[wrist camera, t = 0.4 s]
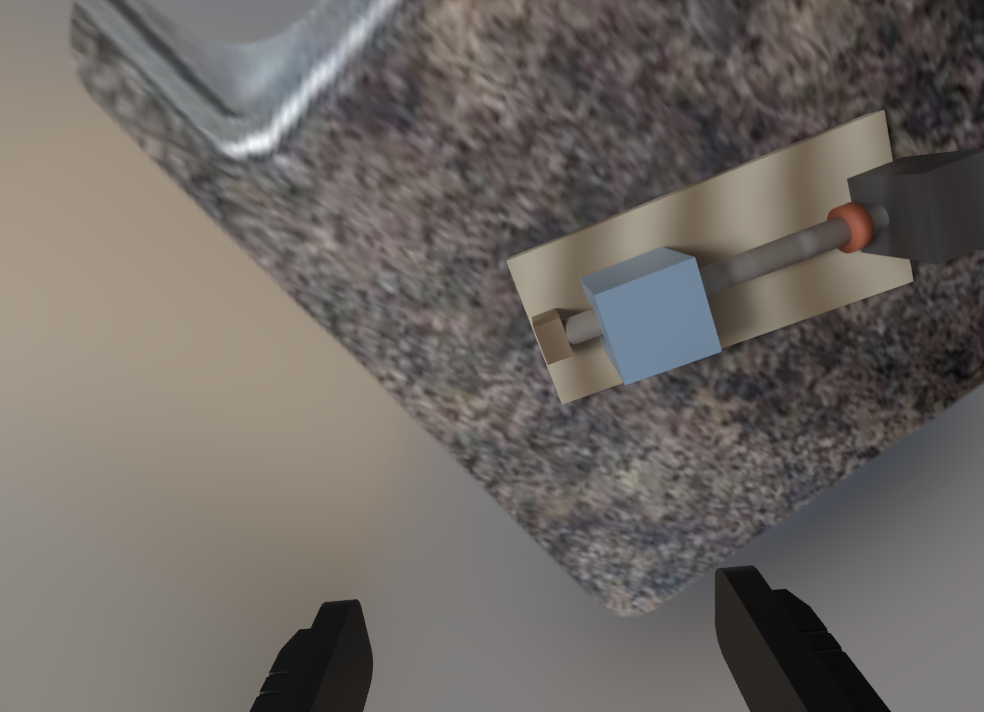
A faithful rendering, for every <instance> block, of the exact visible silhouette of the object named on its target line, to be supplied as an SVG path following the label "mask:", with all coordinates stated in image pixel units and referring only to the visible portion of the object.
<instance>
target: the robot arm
mask: <svg viewBox="0 0 984 712" xmlns="http://www.w3.org/2000/svg"><path fill="white" fill-rule="evenodd" d="M715 627H716V634H717V639H718V643H719V646H720V649H721V652H722V654H723V657H724V659H725V661H726V663H727V665H728V667H729V669H730V671H731V673H732V675H733V677H734V679H735V681H736V683H737V685H738V688H739V690H740V692H741V694H742V696H743V697H744V700H745V702H746V704H747V706H748V708H749V710H750V712H891V711H890V710H889V709H888V707H887V706H886V705H885V704H884V702H883V701H882V699H881V698H880V697H879V696H878V694H877V693H876V692H875V690H874V689H873V688H872V686H871V685H870V684H869V683H868V681H867V680H866V679H865V677H864V676H863V675H862V673H861V672H860V671H859V670H858V669H857V667H856V666H855V664H854V663H853V662H852V660H851V659H850V658H849V657H848V655H847V654H846V653H845V652H843V651H842V649H841V646H840V645H839V644H838V642H837V641H836V640H835V638H834V637H833V636H832V635H831V633H828V631H827V628H826V627H825V625H824V624H823V623H822V622H821V620H820V619H819V618H818V617H817V615H816V614H815V612H814V611H813V610H812V609H811V607H810V606H809V605H807V604H806V603H804V602H803V601H802V600H800V599H799V598H798V597H796V596H795V595H793V594H792V593H791V592H789V591H788V590H787V589H779V590H772V589H771V588H770V587H769V585H768V584H767V582H766V581H765V579H764V578H763V577H762V575H761V574H760V573H759V571H758V570H757V568H755V567H754V566H751V565H750V566H739V567H728V568H718V569H717V570H716V573H715ZM372 671H373V656H372V649H371V645H370V641H369V637H368V633H367V629H366V625H365V620H364V616H363V612H362V608H361V604H360V602H359V601H358V600H357V599H354V600H344V601H332V602H325V603H323V604H322V606H321V607H320V609H319V611H318V613H317V616H316V618H315V620H314V622H313V624H312V627H311V628H310V629H300V630H298V632H297V633H296V634H295V635H294V636H293V637H292V638H291V639H290V640H289V642H287V643H286V644H285V646H284V647H283V648H282V649H281V650H280V652H279V654H278V656H277V658H276V660H275V662H274V664H273V666H272V668H271V670H270V672H269V677H267V678H266V680H265V682H264V684H263V686H262V688H261V690H260V695H259V696H258V697H257V698H256V700H255V702H254V704H253V706H252V708H251V710H250V712H363V710H364V706H365V702H366V699H367V695H368V692H369V688H370V684H371V679H372Z"/></svg>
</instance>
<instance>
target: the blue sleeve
mask: <svg viewBox="0 0 984 712" xmlns="http://www.w3.org/2000/svg"><path fill="white" fill-rule="evenodd" d="M579 279H580V282H581V285H582V288H583V290H584V293H585V296H586V299H587V301H588V302H589V303H590V305H591V306H592V307H593V309H594V312H595V315H596V317H597V320H598V323H599V326H600V329H601V332H602V335H600V339H601V342H602V344H603V347H604V350H605V353H606V355H607V356H608V358H609V359H610V361H611V363H612V364H613V366H614V368H615V369H616V371H617V373H618V374H619V376H620V377H621V379H622V381H623V382H624V384H625V385H628V384H630V383H633V382H636V381H639V380H642V379H645V378H648V377H650V376H653V375H656V374H659V373H662V372H665V371H668V370H670V369H673V368H676V367H679V366H682V365H685V364H688V363H690V362H693V361H696V360H699V359H702V358H705V357H708V356H710V355H713V354H716V353H719V352H722V350H721V346H720V343H719V339H718V336H717V332H716V329H715V325H714V322H713V318H712V315H711V311H710V308H709V304H708V301H707V297H706V294H705V290H704V287H703V283H702V280H701V276H700V273H699V269H698V266H697V262H696V259H695V257H693V256H690V255H687V254H683V253H680V252H677V251H673V250H670V249H667V248H664V247H659V248H656V249H654V250H651V251H648V252H646V253H643V254H641V255H638V256H635V257H633V258H630V259H628V260H625V261H622V262H620V263H617V264H615V265H612V266H610V267H607V268H604V269H602V270H599V271H597V272H594V273H591V274H589V275H586V276H584V277H581V278H579Z"/></svg>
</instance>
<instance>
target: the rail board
mask: <svg viewBox="0 0 984 712" xmlns="http://www.w3.org/2000/svg"><path fill="white" fill-rule="evenodd" d="M659 247H664V248H667V249H670V250H673V251H677V252H680V253H683V254H687V255H690V256H693V257H695V259H696V262H697V266H698V269H699V273H700V276H701V280H702V283H703V287H704V290H705V294H706V297H707V301H708V304H709V308H710V311H711V315H712V318H713V322H714V325H715V329H716V332H717V336H718V339H719V343H720V346H721V349H722V348H725V347H727V346H730V345H733V344H736V343H739V342H742V341H745V340H747V339H750V338H753V337H756V336H759V335H762V334H765V333H767V332H770V331H773V330H776V329H779V328H782V327H785V326H787V325H790V324H793V323H796V322H799V321H802V320H805V319H807V318H810V317H813V316H816V315H819V314H822V313H824V312H827V311H830V310H833V309H836V308H839V307H842V306H844V305H847V304H850V303H853V302H856V301H859V300H862V299H864V298H867V297H870V296H873V295H876V294H879V293H882V292H884V291H887V290H890V289H893V288H896V287H899V286H902V285H904V284H907V283H910V282H913V276H912V270H911V264H910V260H916V261H923V262H930V263H937V264H939V263H941V262H944V261H947V260H950V259H953V258H956V257H958V256H961V255H964V254H967V253H970V252H973V251H975V250H978V249H981V248H984V148H980V149H971V150H963V151H954V152H945V153H936V154H928V155H919V156H910V157H902V158H899V159H897V160H894V161H893V158H892V153H891V147H890V141H889V135H888V129H887V123H886V117H885V111H884V110H882V111H877V112H873V113H869V114H866V115H863V116H861V117H858V118H856V119H853V120H851V121H848V122H846V123H843V124H841V125H838V126H836V127H833V128H831V129H828V130H826V131H823V132H821V133H818V134H816V135H813V136H811V137H808V138H806V139H803V140H801V141H798V142H796V143H793V144H791V145H788V146H786V147H783V148H781V149H778V150H776V151H773V152H771V153H768V154H766V155H763V156H761V157H758V158H756V159H753V160H751V161H748V162H746V163H743V164H741V165H738V166H736V167H733V168H731V169H728V170H726V171H723V172H721V173H718V174H716V175H713V176H711V177H708V178H706V179H703V180H701V181H698V182H696V183H693V184H691V185H688V186H686V187H683V188H681V189H678V190H676V191H673V192H671V193H668V194H666V195H663V196H661V197H658V198H656V199H653V200H651V201H648V202H646V203H643V204H641V205H639V206H636V207H634V208H631V209H629V210H626V211H624V212H621V213H619V214H616V215H614V216H611V217H609V218H606V219H604V220H601V221H599V222H596V223H594V224H591V225H589V226H586V227H584V228H581V229H579V230H576V231H574V232H571V233H569V234H566V235H564V236H561V237H559V238H556V239H554V240H551V241H549V242H546V243H544V244H541V245H539V246H536V247H534V248H531V249H529V250H526V251H524V252H521V253H519V254H516V255H514V256H511V257H509V258H507V260H506V261H507V264H508V267H509V269H510V272H511V274H512V277H513V279H514V282H515V285H516V287H517V290H518V292H519V295H520V297H521V300H522V303H523V305H524V308H525V310H526V313H527V316H528V318H529V321H530V323H531V326H532V328H533V331H534V334H535V336H536V339H537V341H538V344H539V346H540V349H541V352H542V354H543V357H544V359H545V362H546V364H547V367H548V370H549V372H550V375H551V377H552V380H553V383H554V385H555V388H556V390H557V393H558V395H559V398H560V401H561V403H562V404H565V403H568V402H571V401H573V400H576V399H579V398H582V397H585V396H588V395H590V394H593V393H596V392H599V391H602V390H605V389H608V388H610V387H613V386H616V385H619V384H622V383H624V382H623V381H622V379H621V377H620V376H619V374H618V373H617V371H616V369H615V368H614V366H613V364H612V363H611V361H610V359H609V358H608V356H607V355H606V353H605V350H604V347H603V344H602V342H601V339H600V335H602V332H601V329H600V326H599V323H598V320H597V317H596V315H595V312H594V309H593V307H592V306H591V305H590V303H589V302H588V301H587V299H586V296H585V293H584V290H583V288H582V285H581V282H580V279H579V278H581V277H584V276H586V275H589V274H591V273H594V272H597V271H599V270H602V269H604V268H607V267H610V266H612V265H615V264H617V263H620V262H622V261H625V260H628V259H630V258H633V257H635V256H638V255H641V254H643V253H646V252H648V251H651V250H654V249H656V248H659Z"/></svg>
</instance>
